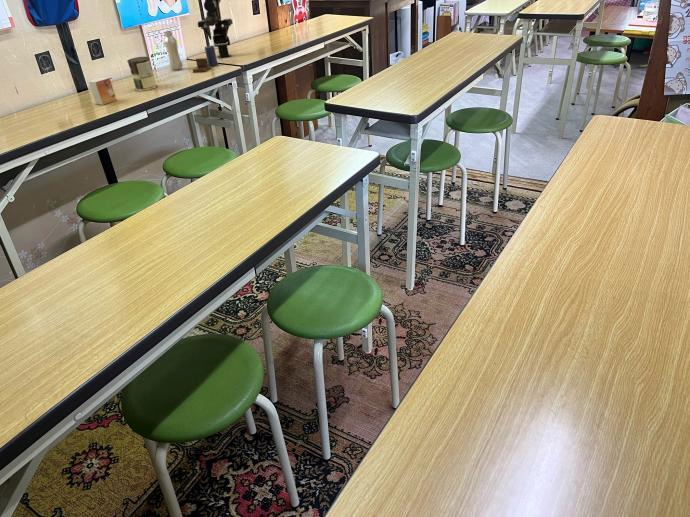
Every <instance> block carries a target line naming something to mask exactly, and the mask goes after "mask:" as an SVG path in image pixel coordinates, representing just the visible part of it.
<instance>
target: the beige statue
mask: <svg viewBox="0 0 690 517" xmlns="http://www.w3.org/2000/svg"><path fill="white" fill-rule="evenodd" d="M164 36H165V38H164V45H165V48H166V50H167V53H168V59H169V67H170V69H171V70H173V71H179V70H181V69H183V62H182V60H181V57H180V53H179V47H178V40H177V39H176V38H175V37H174V36H173V32H172V31H171V30H167V31H164Z"/></svg>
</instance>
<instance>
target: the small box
mask: <svg viewBox="0 0 690 517" xmlns="http://www.w3.org/2000/svg"><path fill="white" fill-rule="evenodd" d="M88 85H89V88H90V91H91V95H92V97H93V99H94V103H95V105H102V106H103V105H106V104H109V103H112V102H116V101H117V96H116V93H115V91H114V88H113V84H112V81H111V78H110V77H100V78H99V77H98V78H96V79H92V80H89V81H88Z"/></svg>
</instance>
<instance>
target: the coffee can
mask: <svg viewBox="0 0 690 517" xmlns="http://www.w3.org/2000/svg"><path fill="white" fill-rule="evenodd" d="M126 62H127V64H128V67H129V71H130V74H131V78H132V80H133V84H134V87H135V90H136V91H137V92H138V91H139V92H143V91H150V90H153V89H156V88H157V83H156V79H155V76H154V73H153V69H152V64H151V61H150V57H149V56H137V57H132V58H129V59H127V61H126Z"/></svg>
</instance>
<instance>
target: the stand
mask: <svg viewBox="0 0 690 517" xmlns="http://www.w3.org/2000/svg"><path fill="white" fill-rule="evenodd" d="M195 62H196V67H194V68H193V69H192V73H206V72H208V71H209V70H210V69H212V67H211V65H208V61H207V57H200V58H195Z"/></svg>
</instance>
